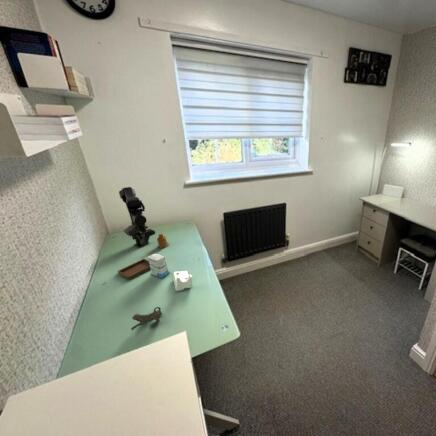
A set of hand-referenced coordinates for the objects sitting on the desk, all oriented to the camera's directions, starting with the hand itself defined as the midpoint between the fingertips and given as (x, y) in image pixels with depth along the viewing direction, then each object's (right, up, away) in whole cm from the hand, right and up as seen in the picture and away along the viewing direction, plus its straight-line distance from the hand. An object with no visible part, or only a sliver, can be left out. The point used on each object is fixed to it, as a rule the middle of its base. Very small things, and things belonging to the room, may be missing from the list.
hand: (144, 242), depth 145 cm
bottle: (0, -4, +21) cm, 21 cm away
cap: (0, +2, -1) cm, 2 cm away
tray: (-1, -16, -5) cm, 17 cm away
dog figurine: (+27, -32, -40) cm, 58 cm away
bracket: (+31, -21, -15) cm, 40 cm away
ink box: (+14, -17, -8) cm, 24 cm away
